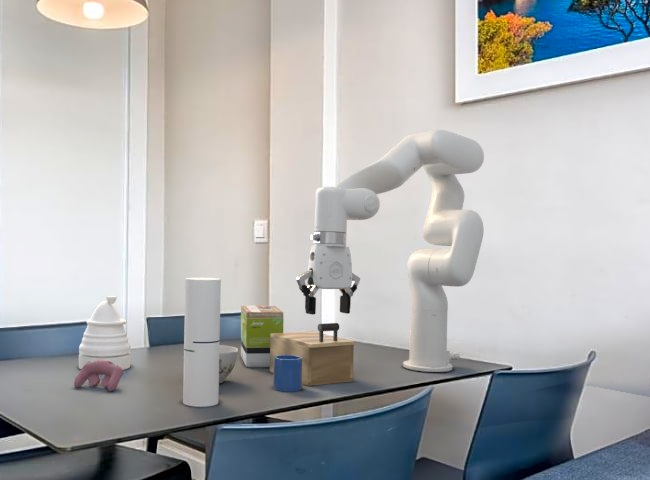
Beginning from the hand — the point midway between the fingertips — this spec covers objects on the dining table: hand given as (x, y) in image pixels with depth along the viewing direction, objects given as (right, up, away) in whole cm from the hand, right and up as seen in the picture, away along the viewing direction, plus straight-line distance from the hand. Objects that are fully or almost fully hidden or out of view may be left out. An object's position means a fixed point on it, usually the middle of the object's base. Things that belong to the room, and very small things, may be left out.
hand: (327, 313), depth 157 cm
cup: (-10, -16, -7) cm, 20 cm away
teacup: (-28, -16, -1) cm, 32 cm away
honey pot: (-55, -15, +14) cm, 59 cm away
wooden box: (-3, -16, +7) cm, 18 cm away
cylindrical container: (-28, -16, -21) cm, 39 cm away
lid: (-3, -7, +6) cm, 10 cm away
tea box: (-15, -16, +24) cm, 33 cm away
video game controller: (-51, -16, -10) cm, 55 cm away
